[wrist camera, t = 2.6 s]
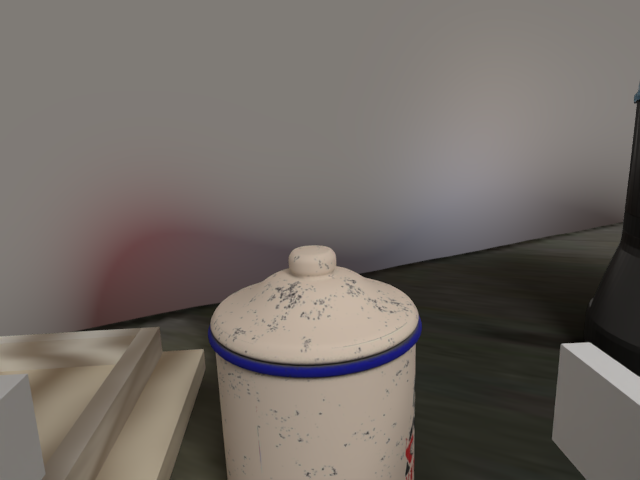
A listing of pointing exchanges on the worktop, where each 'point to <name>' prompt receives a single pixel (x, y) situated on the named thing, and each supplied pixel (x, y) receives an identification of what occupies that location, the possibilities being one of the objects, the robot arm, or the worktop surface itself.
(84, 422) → the cradle board
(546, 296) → the worktop surface
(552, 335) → the worktop surface
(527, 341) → the worktop surface
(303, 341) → the teacup with lid
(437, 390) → the worktop surface
